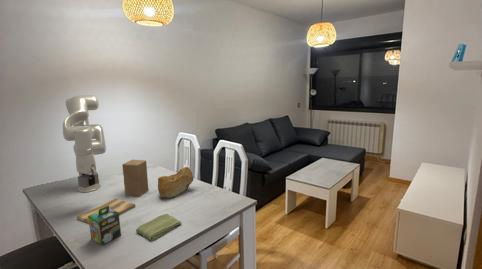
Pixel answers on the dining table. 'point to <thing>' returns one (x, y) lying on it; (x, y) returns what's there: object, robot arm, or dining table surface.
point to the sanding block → (86, 181)
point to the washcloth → (158, 226)
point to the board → (113, 204)
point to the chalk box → (104, 225)
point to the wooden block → (135, 177)
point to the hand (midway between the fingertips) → (88, 183)
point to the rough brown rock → (175, 183)
